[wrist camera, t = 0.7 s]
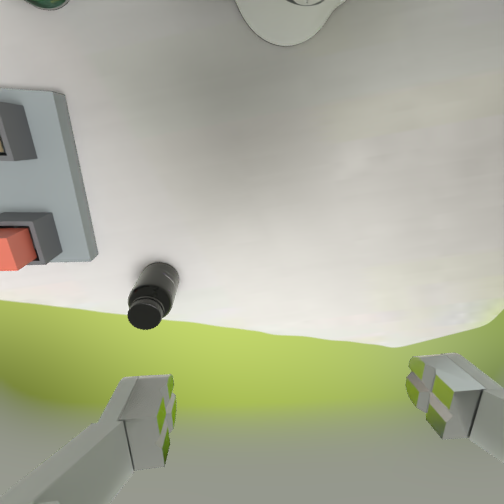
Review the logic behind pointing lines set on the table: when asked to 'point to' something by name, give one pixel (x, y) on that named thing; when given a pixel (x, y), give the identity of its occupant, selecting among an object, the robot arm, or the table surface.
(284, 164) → the table surface
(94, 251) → the button panel
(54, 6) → the canned tomato
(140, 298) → the supplement bottle
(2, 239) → the red button
